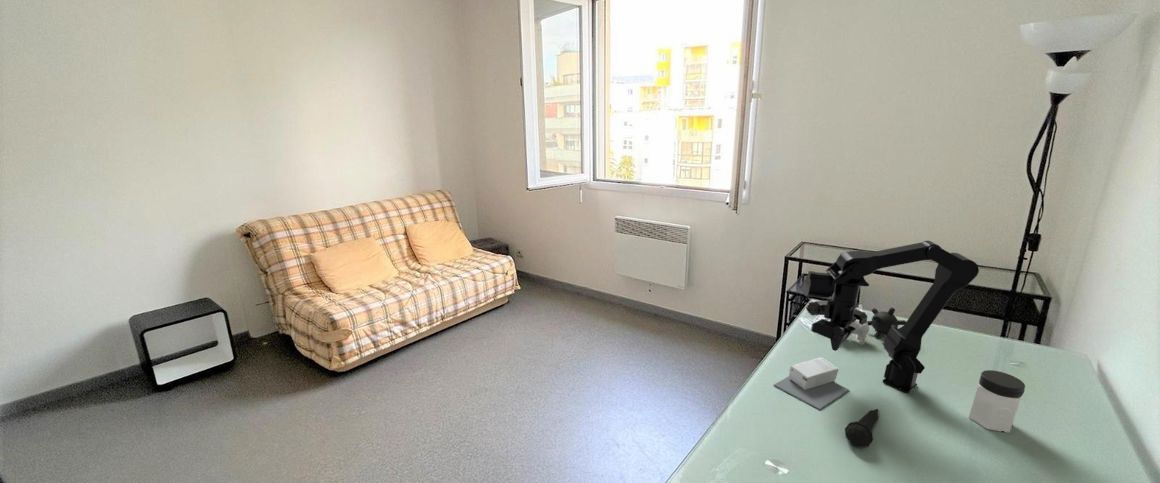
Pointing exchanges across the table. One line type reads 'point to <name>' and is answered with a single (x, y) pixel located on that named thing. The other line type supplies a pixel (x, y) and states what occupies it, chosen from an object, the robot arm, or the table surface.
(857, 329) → the dog figurine
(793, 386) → the mat
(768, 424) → the table surface
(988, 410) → the jar
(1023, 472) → the table surface
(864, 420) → the microphone
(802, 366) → the skincare box
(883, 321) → the toy ball
